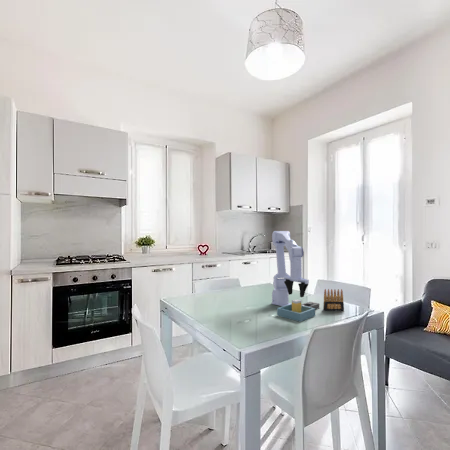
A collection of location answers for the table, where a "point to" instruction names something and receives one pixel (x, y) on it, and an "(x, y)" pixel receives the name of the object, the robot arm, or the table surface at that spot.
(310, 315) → the parts tray
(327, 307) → the ammunition clip
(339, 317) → the table surface
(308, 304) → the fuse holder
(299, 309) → the block
